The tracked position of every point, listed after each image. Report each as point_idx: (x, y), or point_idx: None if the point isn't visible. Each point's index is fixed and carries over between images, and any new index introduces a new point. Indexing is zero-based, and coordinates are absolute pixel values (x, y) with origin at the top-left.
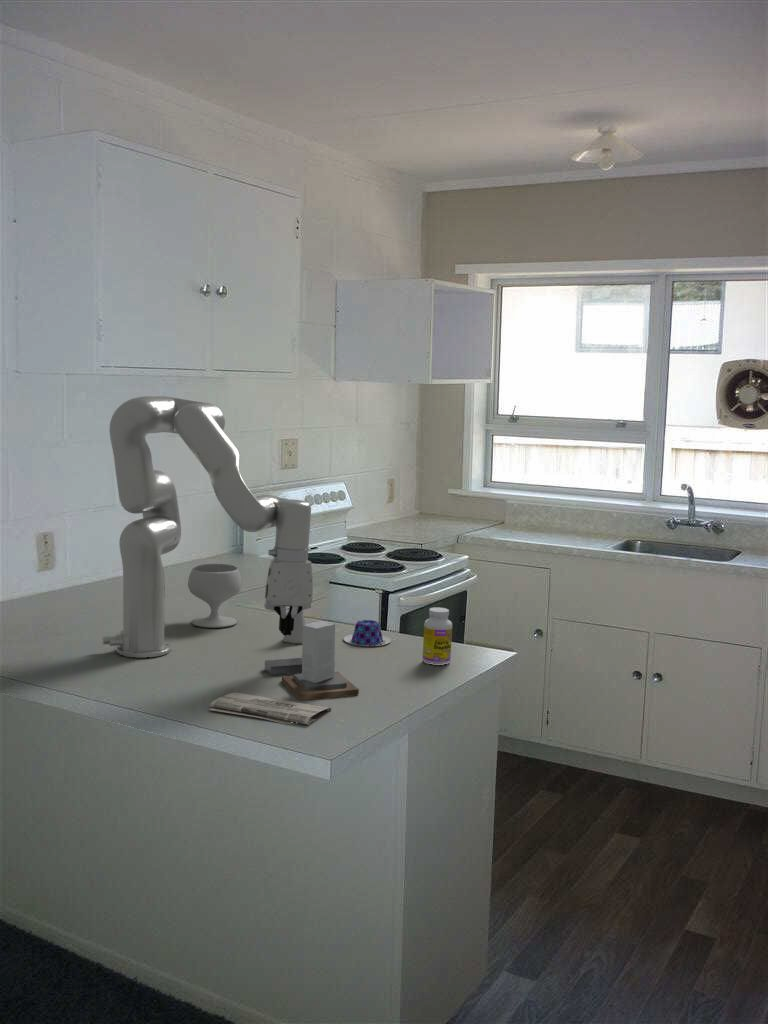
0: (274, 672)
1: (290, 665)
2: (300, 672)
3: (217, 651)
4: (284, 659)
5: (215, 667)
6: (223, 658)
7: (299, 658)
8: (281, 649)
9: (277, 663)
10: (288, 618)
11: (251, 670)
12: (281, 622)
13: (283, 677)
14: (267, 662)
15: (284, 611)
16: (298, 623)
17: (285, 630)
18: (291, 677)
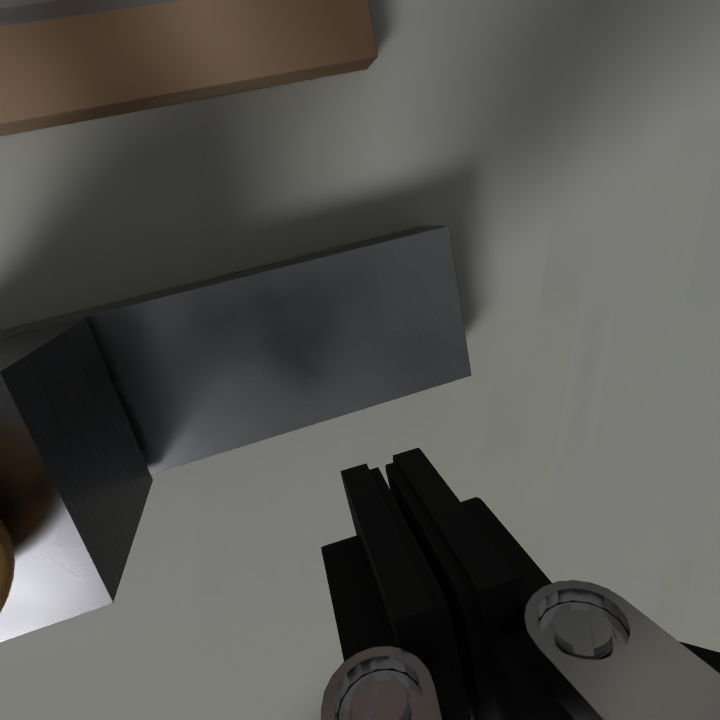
0: (407, 231)
1: (305, 260)
2: (225, 275)
3: None
4: (341, 405)
5: (673, 386)
6: (614, 531)
7: (230, 437)
8: None
9: (396, 308)
10: (454, 636)
11: (518, 336)
12: (527, 558)
13: (366, 22)
14: (459, 333)
15: (647, 711)
16: None
17: (429, 473)
18: (304, 11)
